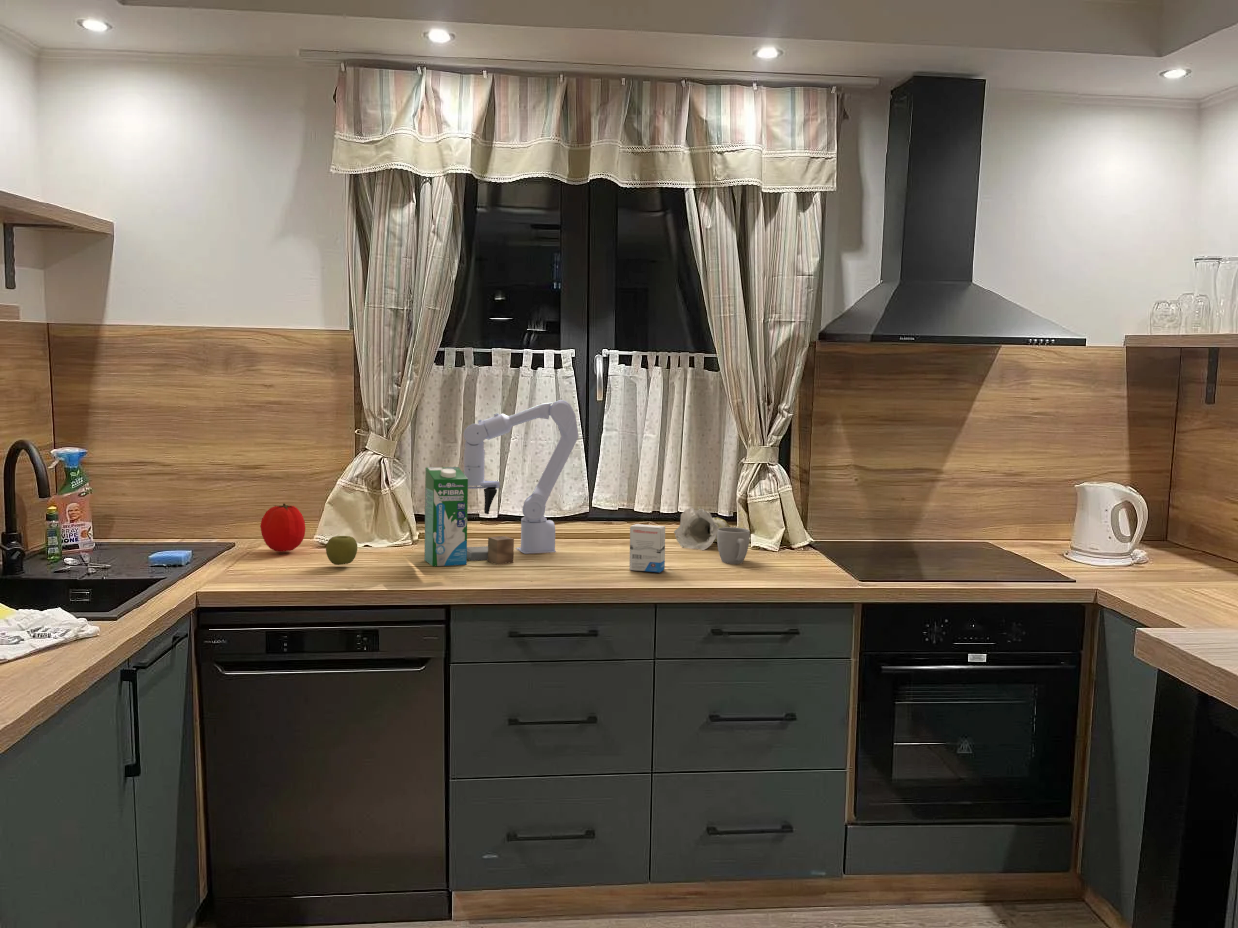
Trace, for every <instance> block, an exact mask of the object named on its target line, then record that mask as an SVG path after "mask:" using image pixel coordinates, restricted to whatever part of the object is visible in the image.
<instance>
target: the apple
mask: <svg viewBox="0 0 1238 928" xmlns="http://www.w3.org/2000/svg"><path fill="white" fill-rule="evenodd" d="M357 553H358V543H357V540H356V539H355V538H354V537H352V536H350V535H336V536H332V537H331V538H329V539H328V541H327V543H326V547H325V554H326V556H327V558H328V560H329V561H330V563H331V564H333V565H335V566H337V565H338V566H340V565H348V564H351V563H352V562H353V561H354V560H355V558H356V556H357Z"/></svg>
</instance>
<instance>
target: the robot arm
mask: <svg viewBox="0 0 1238 928" xmlns="http://www.w3.org/2000/svg"><path fill="white" fill-rule="evenodd" d="M550 417H551V419H552V420H553V422H554V423H555V424H556V425H557V427H558V431H559V434H560V438H559V440H558V441H557V444H556V446H555V448H554V450H553V452H552V454H551V456H550V458H549V460H548V462H547V463H546V466H545V468H544V470H543V471H542V474H541V476H540V478H539V480H538V482H537V484H536V486H535V488H534V489H533V492H532V493H531V494H530V495H529V496H528V497H526V499H525V500H524V501H523V506H522V509H521V510H522V514H523V517H521V519H520V521H521V522H520V547H516V548H515V549H516V550H517V551H519V552H520V553H523V554H524V555H529V554H544V553H546V554H547V553H557V551H556V525H555V522H554V521H553V520H551V519H548V520H547V517H545V513H546V505H547V504H546V503H547V502H548V499H549V497H550V496H551V492H552V490H553V489H554V487H555V485H556V483H557V481H558V479H559V477H560V475H561V473H562V470H563V469H564V468H565V465H566V464H567V461H568V459H569V457H570V455H571V453H572V451H573V449H574V447H575V445H576V443H577V441H578V440H579V439H578V438H579V431H578V423H577V418H576V413H575V411H574V408H572V405H571V404H570V403H569V401H566V400H564V399H559V400H556V401H554V402H553V401H551V402H545V403H541V404H537V405H534V406H533V407H530V408H526V409H524V410H522V411H521V410H520V411H519V412H516V413H514V414H511V415H506V414H505V413H499V412H497V413H494V414H493V416H492V417H488V418H486V419H483V420H482V419H479V420H477V423H471V424H469V425H467V427H466V428H465V429H464V431H463V439H464V440H465V442H464V450H463V473H464V475H465V476H466V477H467V479H468V490H470V489H473V490H474V489H483V493H484V495H483V496H484V514H486V515H489V514H490V511H491V506H492V502H493V501H494V498H495V496H496V495H497V493H498V489H500V488H501V487H500V486H501V483H500V481H499V480H485V465H486V464H485V459H486V457H485V456H486V452H485V440H488V441H489V440H492V439H495V438H498V437H500V436H503V435H506V434H509V433H510V432H511V430H512V428H513V427H514V426H518V425H521V424H524V423H527V422H530V421H533V420H537V419H545V420H549V419H550Z"/></svg>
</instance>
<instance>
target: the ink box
mask: <svg viewBox="0 0 1238 928" xmlns="http://www.w3.org/2000/svg"><path fill="white" fill-rule="evenodd" d="M665 558H666V526H665V525H651V524H643V523H641V524H639V523H635V524H632V525H630V527H629V570H630V571H637V572H648V573H649V572H651V573H662V572H663V571H665V567H666V566H665V563H666V561H665Z"/></svg>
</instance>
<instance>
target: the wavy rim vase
mask: <svg viewBox="0 0 1238 928" xmlns="http://www.w3.org/2000/svg"><path fill="white" fill-rule="evenodd" d="M724 527H731V526H730V524H729V523H728V522H727V521H726V520H725V519H723V518H721V517H712V514H711V513H710V512H709V511H706V510H705V509H704V508H700V507H699V509H697V510H695V508H694V507H691V508H687V509H685V510H683V512H681V514H680V523H679V526H678V527H677V528H676V529H675V530H674V531H673V534H674V536H675V539H676V542H677V543H678V544H679V546H680V547H681V548H684V549H691V550H701V551H705V550H707V549H708V548H709V547H711V545H712V544H713V542H717V530H718V528H724Z"/></svg>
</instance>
